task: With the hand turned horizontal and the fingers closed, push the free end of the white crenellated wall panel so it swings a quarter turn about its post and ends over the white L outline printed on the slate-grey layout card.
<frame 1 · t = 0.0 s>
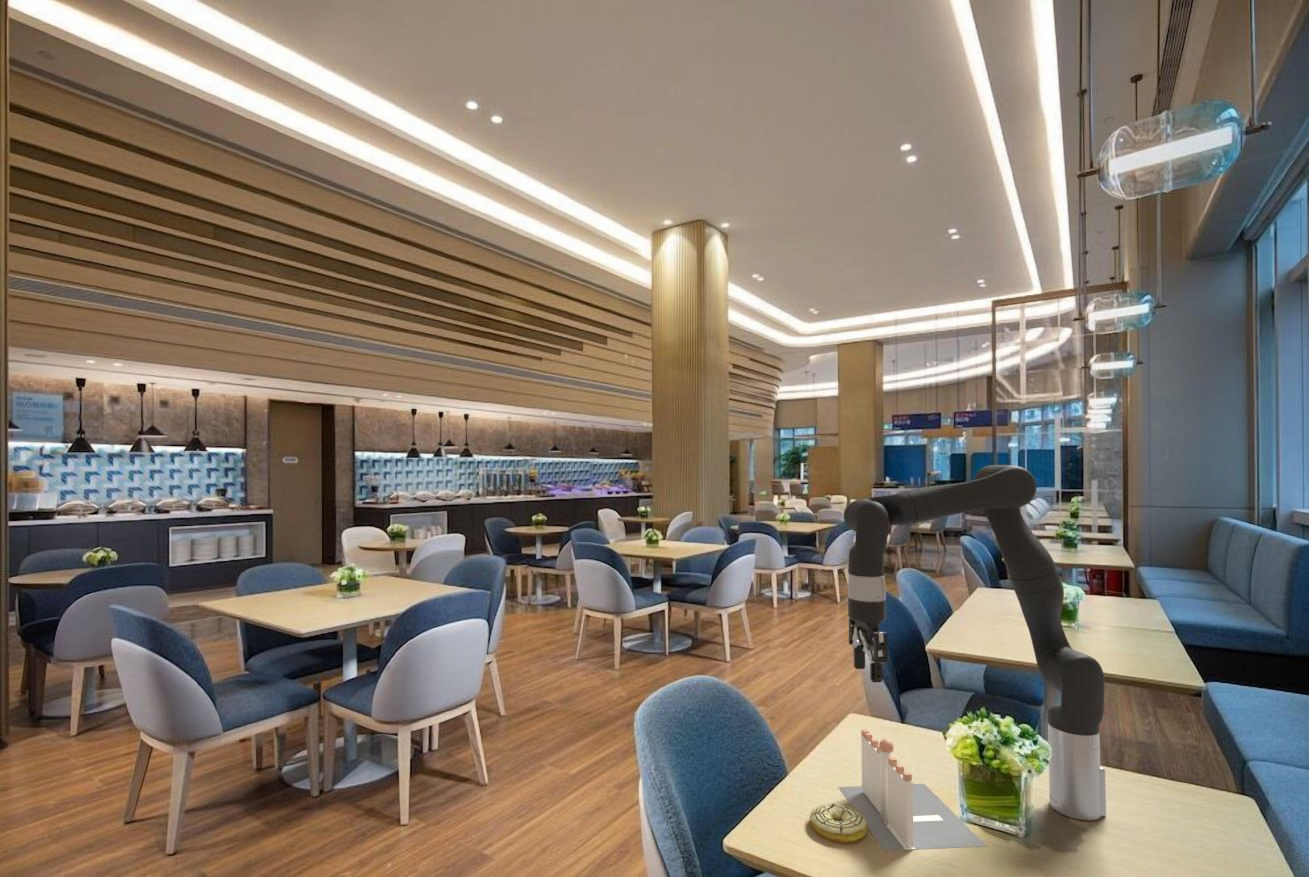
hand: (867, 674, 134), 29 cm above the table, tool pointing down, fingers open, 8 cm apart
white crenellated wall panel: (873, 769, 138), point 8 cm above the table, hinge at 90.0°
layout card: (906, 816, 134), on the table
fence post and fixed panel: (887, 820, 132), resting on layout card
decorated donut: (838, 833, 129), on the table
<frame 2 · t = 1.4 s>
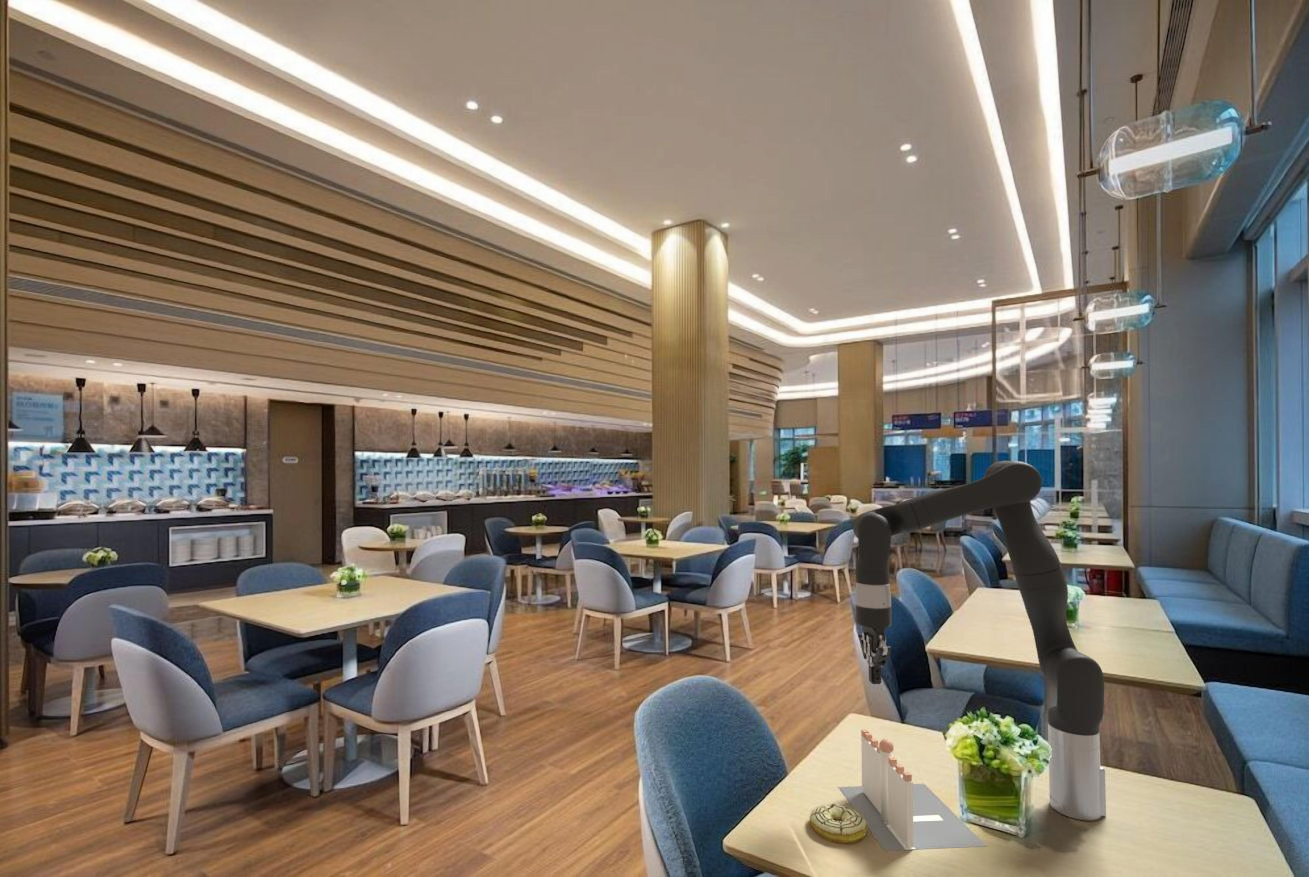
hand: (875, 682, 142), 25 cm above the table, tool pointing down, fingers closed
nothing on the table moved.
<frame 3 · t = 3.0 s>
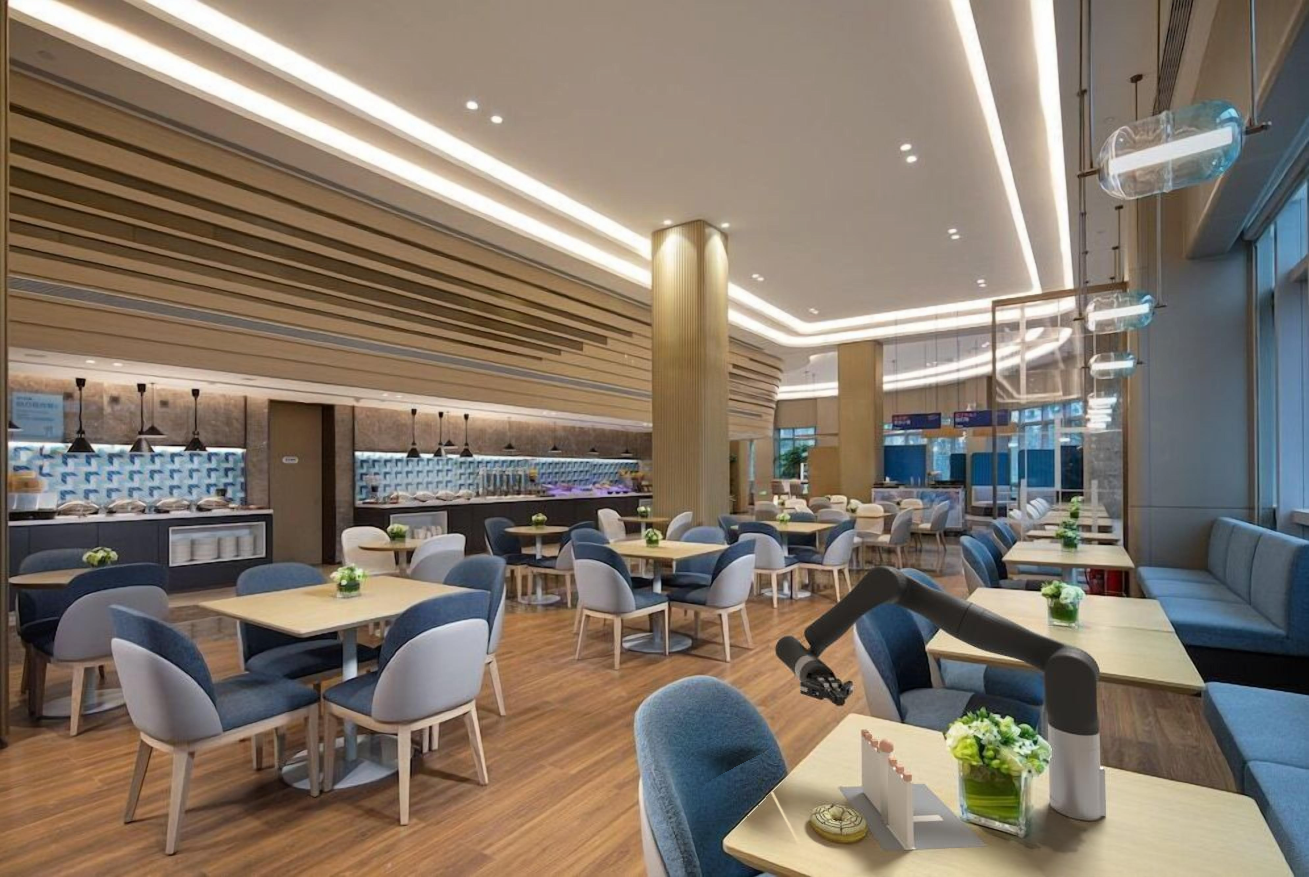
hand: (840, 701, 140), 22 cm above the table, tool horizontal, fingers closed
nothing on the table moved.
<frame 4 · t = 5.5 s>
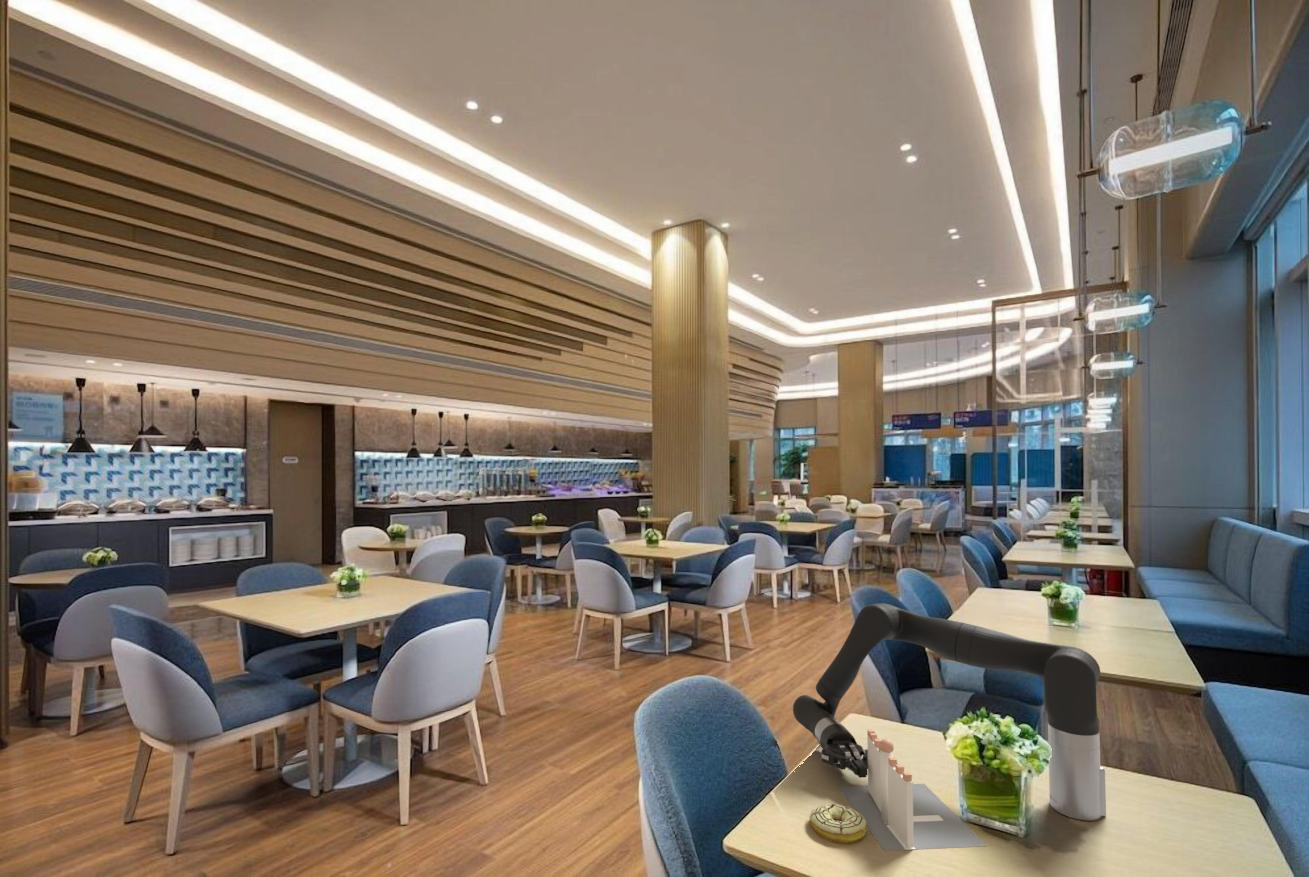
hand: (863, 772, 140), 6 cm above the table, tool horizontal, fingers closed
white crenellated wall panel: (877, 769, 138), point 8 cm above the table, hinge at 82.9°, touching gripper
everything else where it was.
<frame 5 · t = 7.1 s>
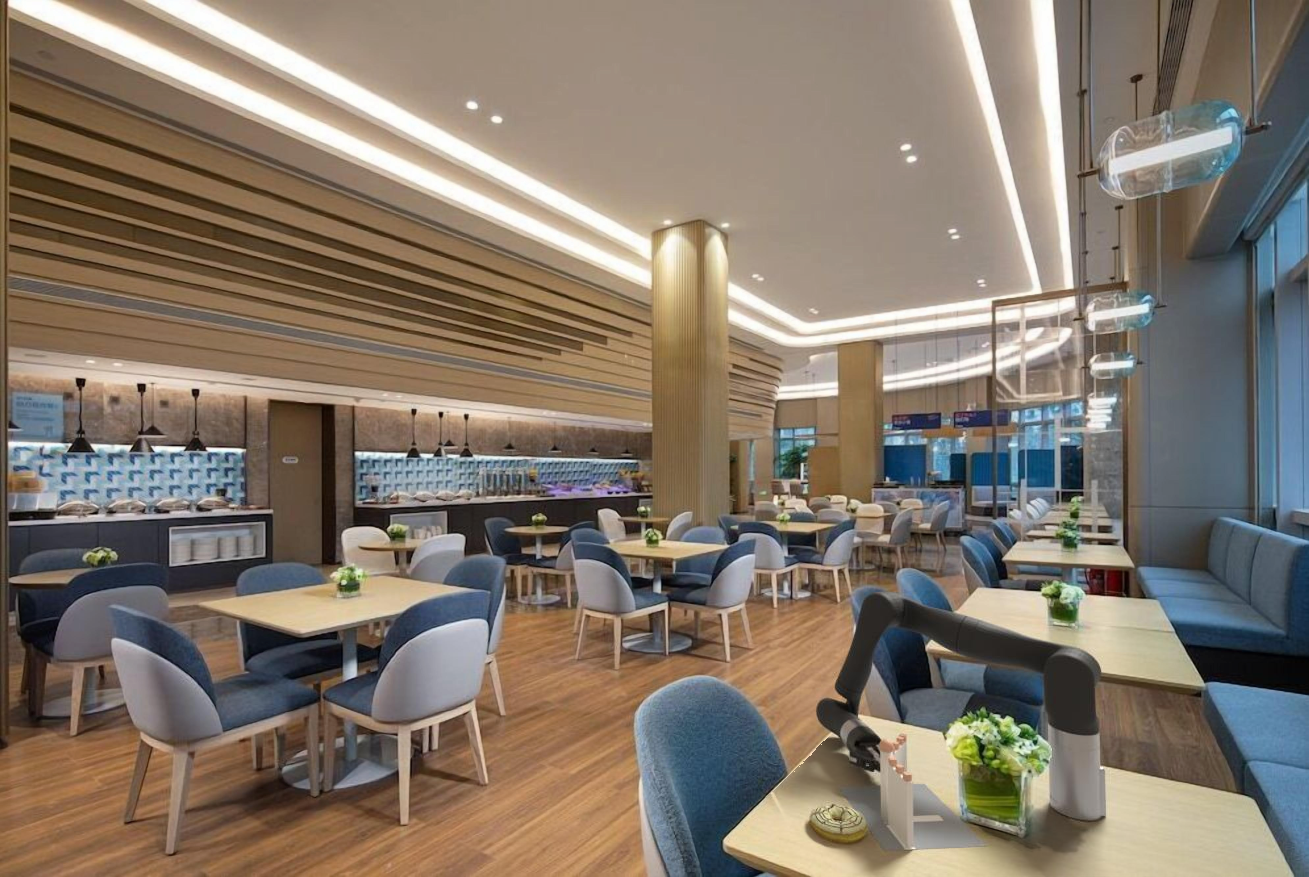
hand: (893, 775, 138), 6 cm above the table, tool horizontal, fingers closed
white crenellated wall panel: (897, 772, 137), point 8 cm above the table, hinge at 47.5°, touching gripper
everything else where it was.
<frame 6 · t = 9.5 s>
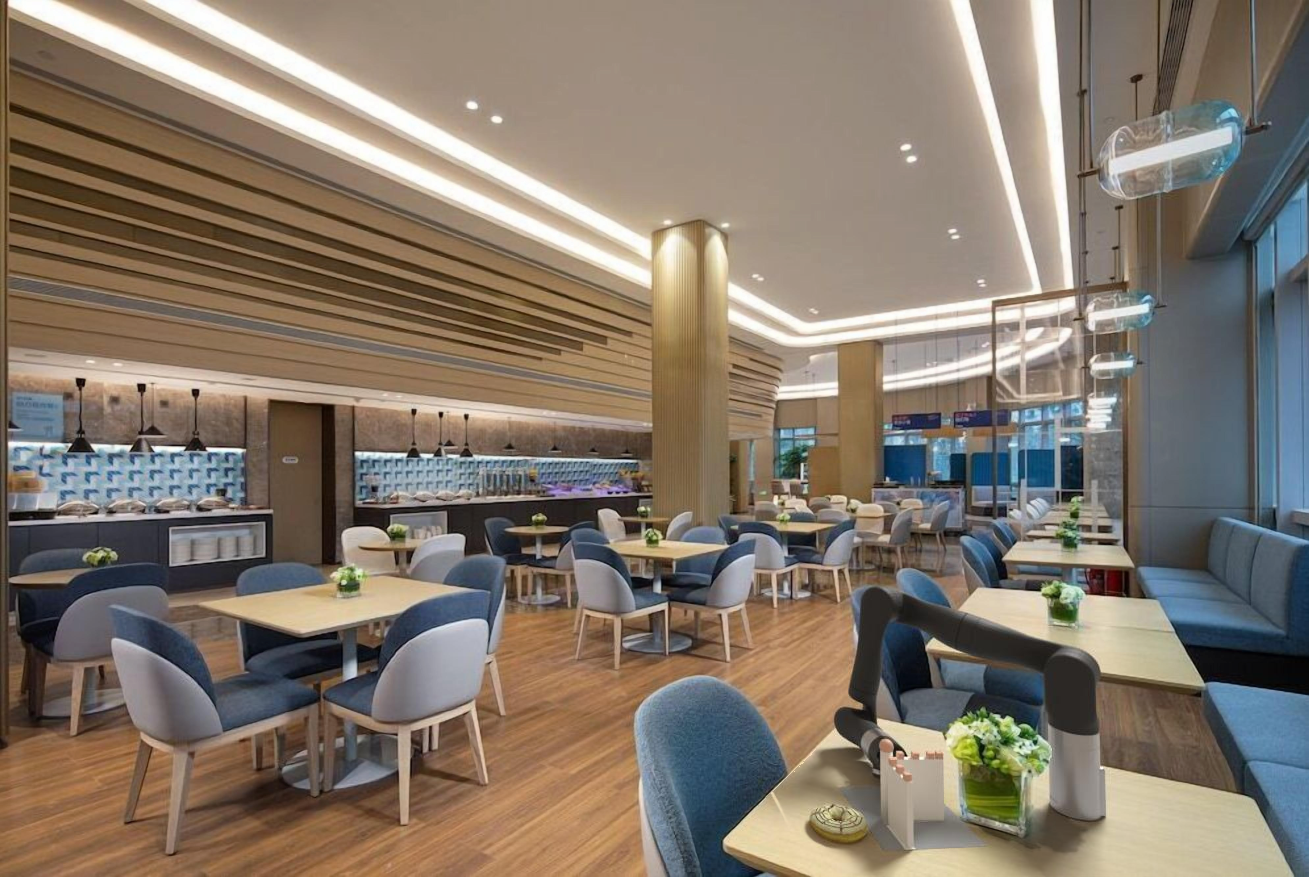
hand: (919, 788, 133), 6 cm above the table, tool horizontal, fingers closed
white crenellated wall panel: (919, 784, 132), point 8 cm above the table, hinge at -3.7°, touching gripper
everything else where it was.
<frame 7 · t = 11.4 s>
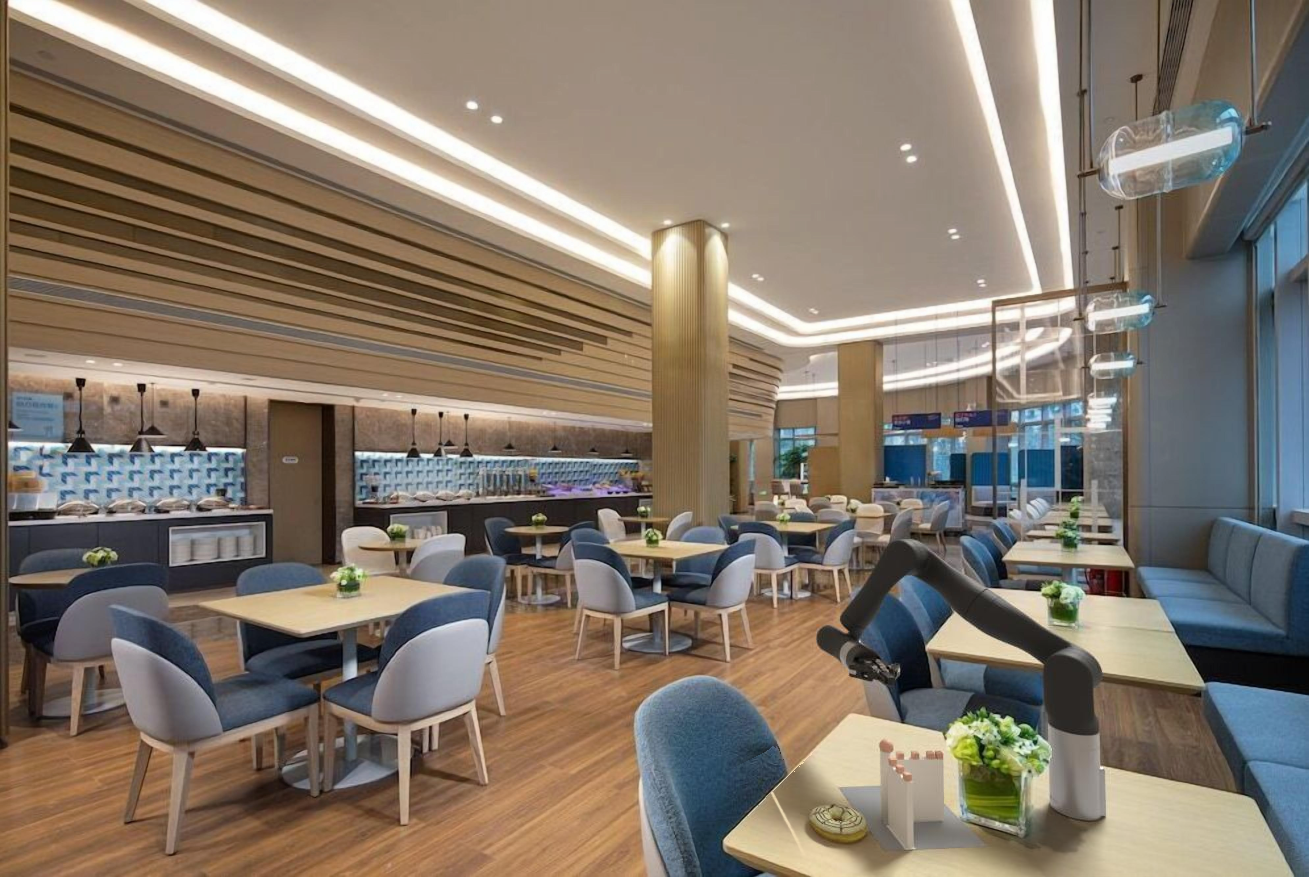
hand: (890, 681, 144), 25 cm above the table, tool horizontal, fingers closed
white crenellated wall panel: (919, 784, 132), point 8 cm above the table, hinge at -3.7°
everything else where it was.
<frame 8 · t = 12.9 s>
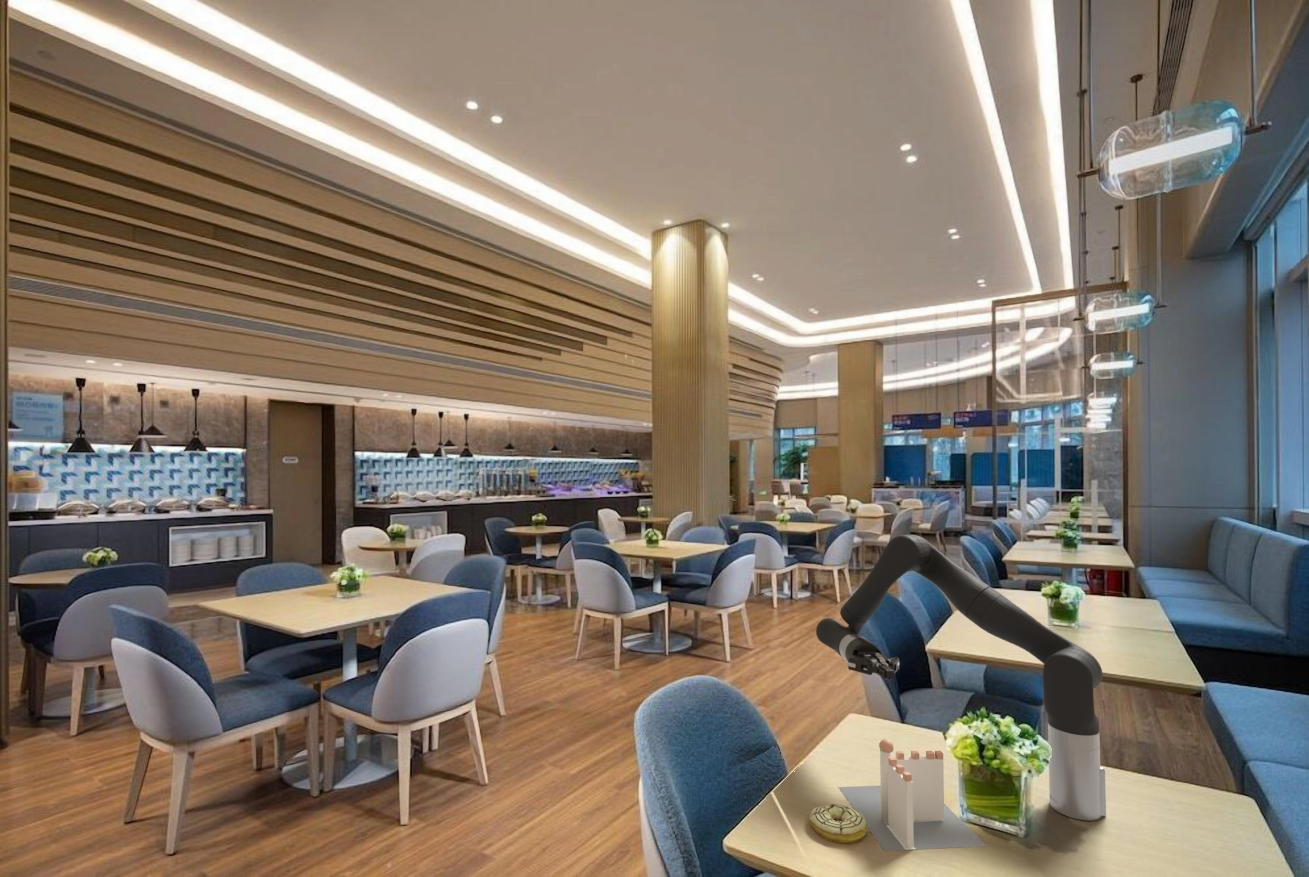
hand: (890, 675, 144), 26 cm above the table, tool horizontal, fingers closed
nothing on the table moved.
at the end: white crenellated wall panel at -4° (first picture: +90°); white crenellated wall panel touching nothing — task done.
